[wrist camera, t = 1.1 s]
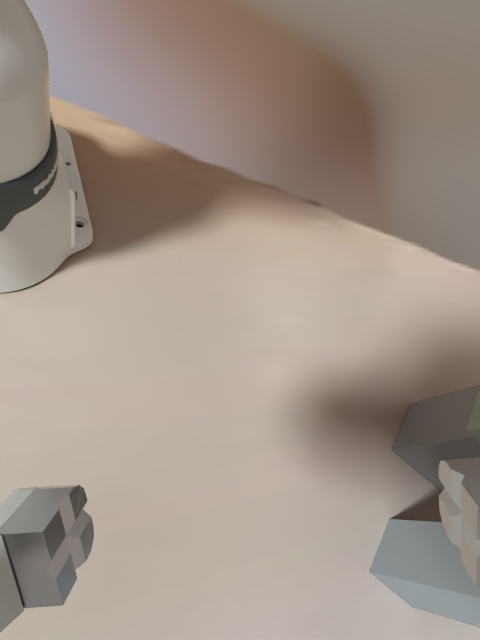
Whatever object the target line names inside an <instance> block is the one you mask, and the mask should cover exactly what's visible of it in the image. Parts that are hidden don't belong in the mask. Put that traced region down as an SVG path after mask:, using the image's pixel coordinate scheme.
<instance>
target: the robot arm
mask: <svg viewBox="0 0 480 640" xmlns="http://www.w3.org/2000/svg"><path fill="white" fill-rule="evenodd" d="M78 224H80V225H82V226H83V227H81V228H79V227H77V226H76V225H78ZM92 242H93V230H92V226H91V221H90V217H89V213H88V209H87V204H86V200H85V196H84V192H83V187H82V183H81V179H80V174H79V170H78V166H77V162H76V157H75V153H74V149H73V145H72V141H71V137H70V134H69V133H68V131H66V130H65V129H63V128H62V127H60V126H59V125H57V124H55V123H54V119H53V115H52V113H51V111H50V97H49V68H48V52H47V48H46V44H45V41H44V38H43V36H42V33H41V31H40V29H39V26H38V24H37V22H36V20H35V18H34V16H33V14H32V13H31V11H30V9H29V8H28V6H27V4H26V3H25V1H24V0H0V293H3V292H11V291H16V290H20V289H23V288H26V287H29V286H32V285H34V284H36V283H38V282H40V281H42V280H43V279H45V278H46V277H48V276H49V275H51V274H52V273H53V272H54V271H55V270H56V269H57V268H58V267H59V266H60V265H61V264H62V263H63V261H64V260H65V259H66V258H67V257H69V256H70V255H71V254H74V253H76V252H78V251H80V250H82V249H84V248H86V247H88V246H89V245H90V244H91V243H92ZM439 479H440V481H441V482H442V484H443V486H444V487H445V488H444V489H443V491H442V492H441V493H440V495H439V510H440V515H441V520H442V524H443V526H444V529H445V532H446V534H447V536H448V538H449V540H450V541H451V543H453V544H454V545H456V546H457V547H459V548H460V549H461V561H462V563H463V565H464V567H465V568H466V570H467V572H468V574H469V575H470V577H471V579H472V581H473V582H474V584H475V586H476V588H480V457H478V458H467V459H456V460H444V461H440V464H439ZM86 503H87V498H86V494H85V491H84V488H82V487H81V486H80V485H71V486H49V487H30V488H20V489H17V490H14V491H13V492H12V493H11V494H10V496H9V497H8V498H7V499H6V500H5V501H4V502H3V503H2V504H1V505H0V632H1V631H2V630H3V629H5V628H6V627H7V626H8V625H9V624H10V623H11V622H12V621H13V620H14V619H15V618H16V617H18V616H19V615H20V614H21V613H22V612H23V611H24V608H34V607H47V606H60V605H63V604H64V602H65V600H66V599H67V597H68V595H69V593H70V591H71V589H72V587H73V585H74V583H75V581H76V579H77V576H76V572H75V570H76V569H77V568H78V567H79V566H81V565H82V564H83V563H85V562H86V560H87V558H88V556H89V554H90V552H91V548H92V543H93V538H94V529H93V522H92V518H91V516H90V515H89V514H87V513H86V512H85V511H84V510H83V508H84V506H85V504H86Z"/></svg>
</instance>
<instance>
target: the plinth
mask: <svg viewBox="0 0 480 640" xmlns="http://www.w3.org/2000/svg"><path fill="white" fill-rule="evenodd" d="M370 573H371V574H373V575H374V576H375V577H376V578H378V579H379V580H380V581H381V582H382V583H384V584H385V585H386V586H387V587H389V588H390V589H391V590H392V591H394V592H395V593H396V594H397V595H398V596H400V597H401V598H402V599H403V600H405V601H406V602H407V603H408V604H410V605H411V606H412V607H414V608H418V609H421V610H424V611H427V612H431V613H434V614H437V615H441V616H444V617H447V618H450V619H454V620H457V621H460V622H463V623H467V624H470V625H473V626H476V627H480V588H476V586H475V584H474V582H473V581H472V579H471V577H470V575H469V574H468V572H467V570H466V568H465V567H464V565H463V563H462V561H461V549H460V548H459V547H457V546H456V545H454V544H453V543H451V541H450V540H449V538H448V536H447V534H446V532H445V529H444V526H443V524H442V522H432V521H415V520H398V519H390V520H389V522H388V525H387V527H386V530H385V533H384V535H383V538H382V540H381V543H380V546H379V548H378V551H377V553H376V556H375V559H374V561H373V564H372V566H371V569H370Z"/></svg>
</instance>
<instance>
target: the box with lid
mask: <svg viewBox="0 0 480 640" xmlns="http://www.w3.org/2000/svg"><path fill="white" fill-rule="evenodd" d="M392 450H393V451H394V452H395V453H396V454H397V455H399V456H400V457H401V458H402V459H403V460H405V461H406V462H407V463H408V464H409V465H411V466H412V467H413V468H414V469H415V470H417V471H418V472H419V473H420V474H421V475H423V476H424V477H425V478H426V479H427V480H429V481H430V482H431V483H432V484H433V485H435V486H436V487H437V488H438V489H439V490H441V491H443V489H444V488H445V487H444V486H443V484H442V482H441V481H440V479H439V464H440V461H444V460H456V459H467V458H478V457H480V385H478V386H474V387H471V388H467V389H463V390H460V391H456V392H452V393H449V394H445V395H442V396H438V397H434V398H431V399H427V400H423V401H420V402H416V403H412V404H411V405H410V407H409V409H408V412H407V414H406V416H405V419H404V421H403V424H402V426H401V428H400V431H399V433H398V435H397V438H396V440H395V443H394V445H393V447H392Z"/></svg>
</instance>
